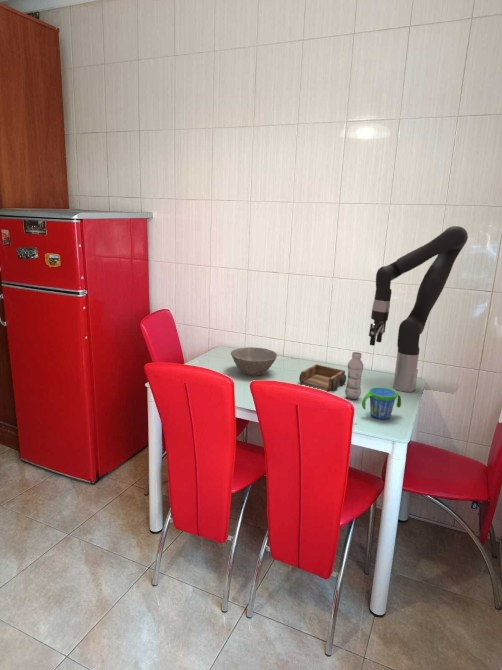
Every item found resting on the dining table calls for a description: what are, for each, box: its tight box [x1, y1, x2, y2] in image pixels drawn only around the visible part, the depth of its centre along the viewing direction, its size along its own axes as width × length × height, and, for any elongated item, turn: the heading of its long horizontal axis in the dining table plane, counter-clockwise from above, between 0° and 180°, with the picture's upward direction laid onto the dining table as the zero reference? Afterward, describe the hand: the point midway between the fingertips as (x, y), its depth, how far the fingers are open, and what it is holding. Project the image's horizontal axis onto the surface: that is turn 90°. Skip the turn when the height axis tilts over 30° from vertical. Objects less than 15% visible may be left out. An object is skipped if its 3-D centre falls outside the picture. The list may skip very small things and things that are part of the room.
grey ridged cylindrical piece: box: [344, 351, 364, 400], centre depth 197 cm, size 6×7×20 cm
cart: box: [298, 363, 347, 393], centre depth 213 cm, size 20×17×6 cm
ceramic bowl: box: [230, 346, 278, 377], centre depth 225 cm, size 22×23×10 cm
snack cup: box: [361, 386, 402, 420], centre depth 181 cm, size 16×10×10 cm
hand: (375, 343), depth 216 cm, fingers open, 8 cm apart
